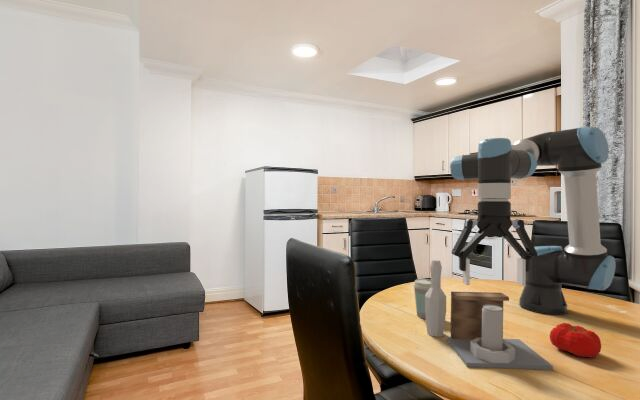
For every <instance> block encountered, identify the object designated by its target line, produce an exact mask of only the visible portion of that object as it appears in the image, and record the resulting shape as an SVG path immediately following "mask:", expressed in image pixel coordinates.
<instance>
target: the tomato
mask: <svg viewBox="0 0 640 400" xmlns="http://www.w3.org/2000/svg"><path fill="white" fill-rule="evenodd" d="M549 340H550V342H551V344H552V346H554V347H555V348H556V349H559V350H561V351H563V352H566V353H567V352H569V353H570V354H572V355H574V356H576V357H580V358H581V357H582V358H594V357H597V356H598V355H599V354H600V353H601V350H602V344H601V343H602V341H601V339H600V336H599V335H598V334H597V333H596V332H595V331H592V330H590V329H588V328H585V327H583V326H581V325H572V324H571V323H569V322H568V323H567V322H563V323H559V324H557V325H556V326H555V327H553V328H552V329H551V330H550V333H549Z"/></svg>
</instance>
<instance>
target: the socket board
mask: <svg viewBox="0 0 640 400" xmlns="http://www.w3.org/2000/svg"><path fill="white" fill-rule="evenodd" d="M481 340H482V338H479V337H477V338H475V339H452V338H451V336H447V337H446V341H447V343H448V344H449V345H450V347H451V348H452V349H453V351H454V352H455V354H456V355H457V356H458V357H459V358H460V360H461V361H462V362H463V363H464V365H465V366H466V368H490V369H517V370H519V369H521V370H545V371H548V370H550V371H553V369H554V365H552V363H550V362H549V361H548V360H546V359H545V358H544V357H542V356H541V355H540V354H539V353H538V352H536V351H535V350H534V349H532V348H531V347H530V346H529V345H527V344H526V343H525V342H523V341H522V340H521V339H519V338H503V347H502V351H492V350H489V349H486V348H483V347H481Z"/></svg>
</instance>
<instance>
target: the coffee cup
mask: <svg viewBox="0 0 640 400" xmlns="http://www.w3.org/2000/svg"><path fill="white" fill-rule="evenodd" d="M412 287H413V288H414V296H415V297H414V299H415V307H416V308H415V309H416V310H415V311H416V316H417V317H418V318H420V319H424V320H426V316H425V294H426V293H427V291H428V290H429V289H430V288H431V279H429V278H427V279H426V278H419V279H417V278H416V279H415V280H414V283H413V286H412Z"/></svg>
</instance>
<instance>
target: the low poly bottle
mask: <svg viewBox="0 0 640 400" xmlns="http://www.w3.org/2000/svg"><path fill="white" fill-rule="evenodd" d="M442 268H443V267H442V263H441V260H440V259H431V264H430V266H429V270H430V280H431V288H430V289H429V290H428V291H427V293H426V294H425V316H426V319H425V324H426V333H427V335H429V336H432V337H435V338H438V337H443V336H444V330H445V322H446V316H447V315H446V314H447V295H446V294H445V292H444V290H443V288H441V287H442V285H441V283H442V282H441V281H442V279H441V278H442V270H443V269H442Z"/></svg>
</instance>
